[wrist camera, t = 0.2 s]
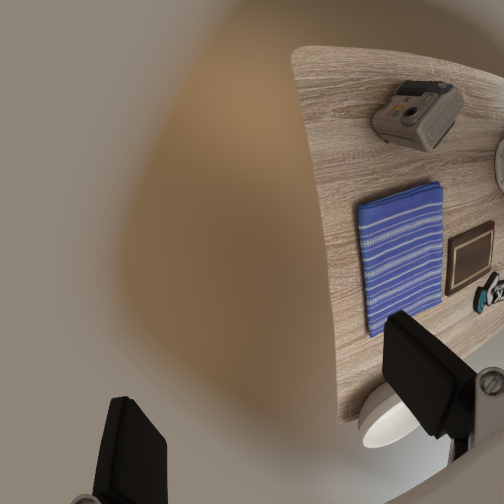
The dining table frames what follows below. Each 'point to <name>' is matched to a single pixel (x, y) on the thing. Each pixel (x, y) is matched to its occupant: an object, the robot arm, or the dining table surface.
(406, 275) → the dish towel
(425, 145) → the camera
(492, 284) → the logo
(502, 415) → the robot arm
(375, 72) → the dining table surface
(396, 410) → the bowl
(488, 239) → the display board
